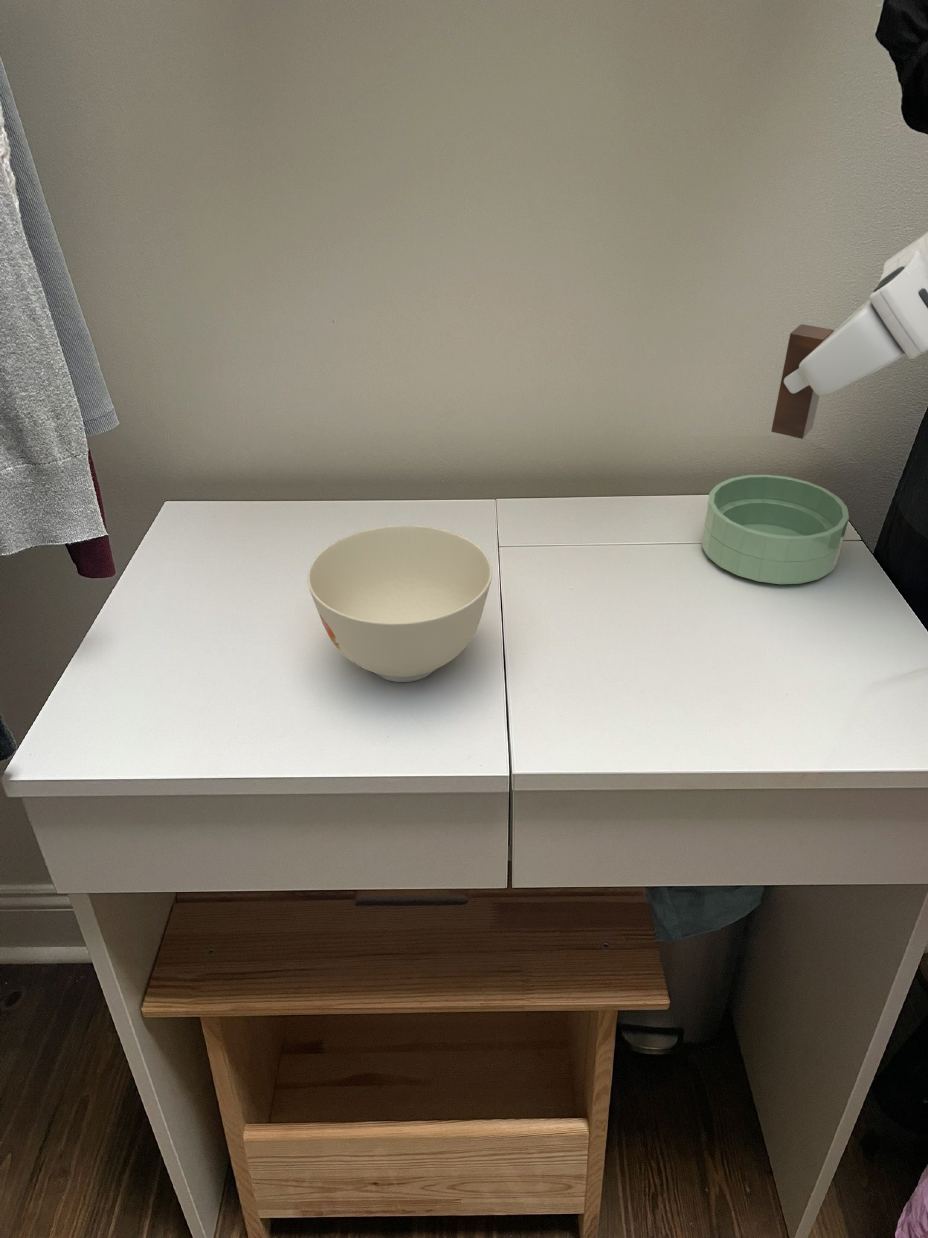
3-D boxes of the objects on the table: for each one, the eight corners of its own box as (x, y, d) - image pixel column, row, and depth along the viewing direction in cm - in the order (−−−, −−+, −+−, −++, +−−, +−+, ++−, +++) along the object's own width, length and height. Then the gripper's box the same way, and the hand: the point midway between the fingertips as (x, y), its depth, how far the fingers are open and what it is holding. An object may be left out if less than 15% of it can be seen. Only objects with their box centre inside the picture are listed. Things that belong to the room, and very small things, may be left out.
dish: (864, 572, 100) (878, 522, 97) (752, 600, 96) (762, 549, 92) (780, 512, 111) (790, 465, 107) (676, 535, 107) (683, 487, 103)
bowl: (505, 708, 82) (508, 613, 77) (320, 727, 80) (309, 632, 75) (475, 605, 95) (475, 518, 89) (315, 620, 93) (305, 532, 87)
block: (812, 428, 95) (834, 329, 89) (802, 439, 93) (824, 338, 87) (781, 421, 97) (800, 323, 91) (770, 431, 94) (790, 332, 89)
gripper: (936, 236, 89) (811, 322, 99) (880, 289, 75) (741, 383, 85) (973, 292, 89) (845, 372, 99) (924, 355, 75) (780, 441, 85)
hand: (796, 378), depth 92 cm, fingers closed on block, 3 cm apart
